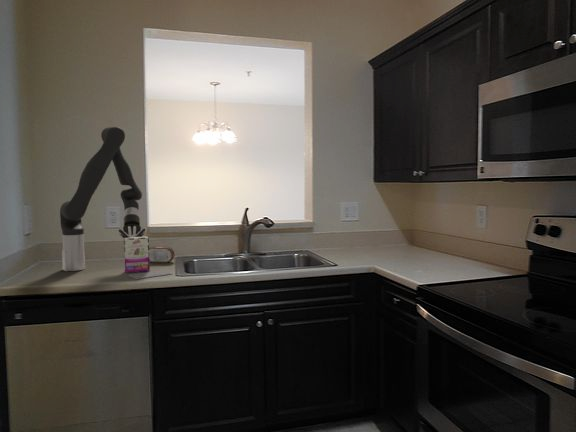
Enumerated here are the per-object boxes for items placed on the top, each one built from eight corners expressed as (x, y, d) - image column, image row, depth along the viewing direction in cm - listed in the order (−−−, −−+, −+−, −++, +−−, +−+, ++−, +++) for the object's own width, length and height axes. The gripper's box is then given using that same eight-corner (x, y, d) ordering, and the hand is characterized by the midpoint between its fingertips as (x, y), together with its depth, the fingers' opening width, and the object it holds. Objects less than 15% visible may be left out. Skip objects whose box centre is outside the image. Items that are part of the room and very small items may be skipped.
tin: (174, 262, 223) (174, 246, 223) (172, 263, 220) (172, 247, 219) (147, 261, 225) (147, 246, 224) (145, 262, 222) (145, 246, 221)
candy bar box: (148, 269, 204) (148, 236, 203) (149, 271, 199) (149, 237, 198) (124, 271, 199) (123, 237, 198) (124, 273, 195) (123, 238, 194)
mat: (135, 279, 182) (135, 278, 182) (128, 275, 189) (128, 275, 189) (172, 274, 193) (172, 273, 193) (163, 270, 200) (163, 270, 200)
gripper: (117, 213, 206) (117, 241, 196) (145, 213, 211) (147, 240, 200) (117, 223, 212) (117, 251, 201) (145, 222, 216) (146, 249, 206)
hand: (132, 245), depth 201 cm, fingers closed
